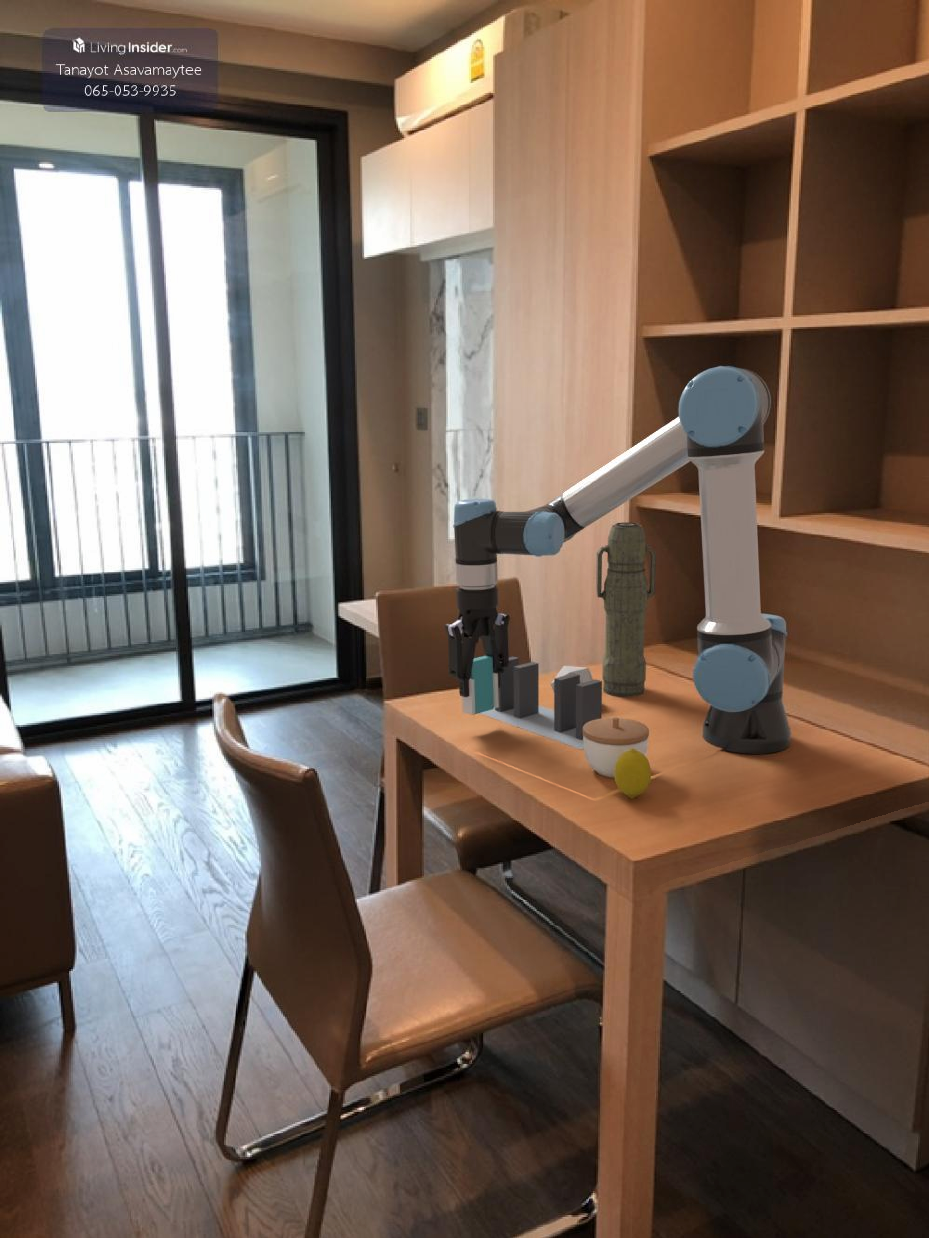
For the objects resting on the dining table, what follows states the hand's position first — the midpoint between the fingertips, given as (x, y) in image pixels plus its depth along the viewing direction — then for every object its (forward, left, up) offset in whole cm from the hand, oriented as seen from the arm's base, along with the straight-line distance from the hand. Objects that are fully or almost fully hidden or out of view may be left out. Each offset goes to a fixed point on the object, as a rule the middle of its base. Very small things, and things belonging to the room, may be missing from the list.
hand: (480, 709), depth 186 cm
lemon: (-40, +3, -4) cm, 40 cm away
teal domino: (0, 0, 0) cm, 0 cm away
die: (-1, -24, -4) cm, 24 cm away
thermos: (-1, -39, -4) cm, 39 cm away
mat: (-5, -12, -4) cm, 14 cm away
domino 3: (-11, -12, -4) cm, 16 cm away
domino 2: (0, -12, -4) cm, 12 cm away
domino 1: (+6, -12, -4) cm, 14 cm away
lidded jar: (-31, -3, -4) cm, 31 cm away
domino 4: (-16, -12, -4) cm, 20 cm away
